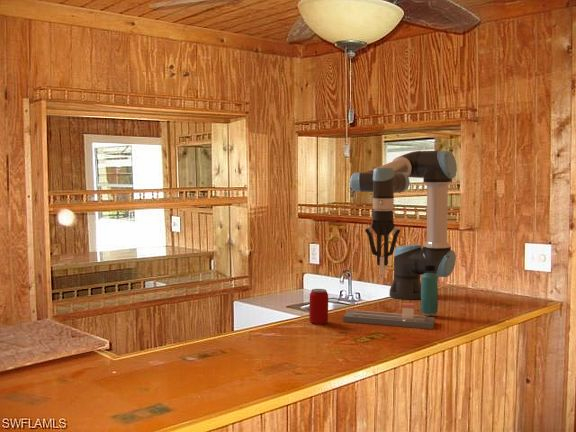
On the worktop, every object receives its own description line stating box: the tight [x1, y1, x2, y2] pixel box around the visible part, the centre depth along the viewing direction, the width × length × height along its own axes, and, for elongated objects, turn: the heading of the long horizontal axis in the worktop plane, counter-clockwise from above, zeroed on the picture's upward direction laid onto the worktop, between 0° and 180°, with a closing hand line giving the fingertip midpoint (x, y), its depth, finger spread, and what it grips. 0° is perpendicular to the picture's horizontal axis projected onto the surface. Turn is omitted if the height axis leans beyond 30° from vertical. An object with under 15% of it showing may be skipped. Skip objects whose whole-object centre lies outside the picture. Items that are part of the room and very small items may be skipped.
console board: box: [342, 310, 436, 330], centre depth 224 cm, size 10×32×3 cm, turn 72°
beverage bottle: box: [420, 265, 439, 315], centre depth 234 cm, size 6×7×20 cm
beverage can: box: [308, 288, 329, 325], centre depth 222 cm, size 7×7×12 cm
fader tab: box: [401, 302, 416, 318], centre depth 222 cm, size 3×4×5 cm
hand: (382, 273), depth 225 cm, fingers closed
